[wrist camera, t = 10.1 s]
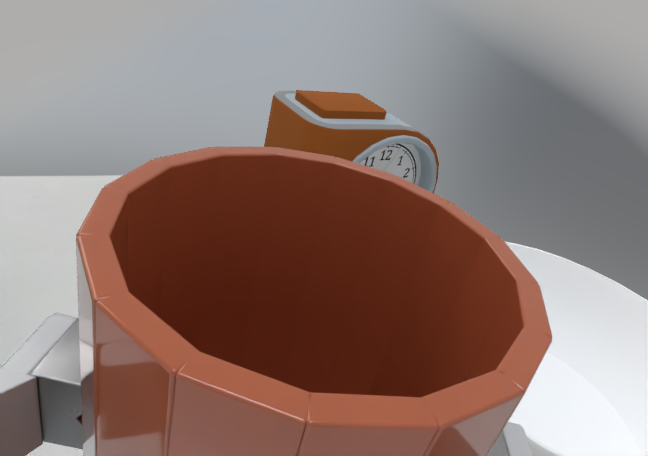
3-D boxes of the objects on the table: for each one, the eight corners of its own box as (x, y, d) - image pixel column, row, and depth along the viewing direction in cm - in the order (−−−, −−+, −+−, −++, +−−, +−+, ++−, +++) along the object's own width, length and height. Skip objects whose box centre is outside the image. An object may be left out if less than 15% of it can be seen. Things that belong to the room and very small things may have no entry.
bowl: (544, 332, 42) (595, 248, 38) (744, 580, 26) (870, 486, 22) (335, 326, 36) (367, 227, 32) (433, 635, 21) (519, 524, 17)
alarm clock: (285, 276, 40) (321, 120, 34) (242, 222, 46) (266, 79, 39) (414, 252, 49) (464, 122, 42) (364, 209, 54) (401, 88, 48)
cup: (415, 561, 13) (590, 267, 9) (236, 878, 8) (421, 596, 3) (241, 409, 16) (299, 127, 12) (30, 574, 11) (-25, 193, 6)
